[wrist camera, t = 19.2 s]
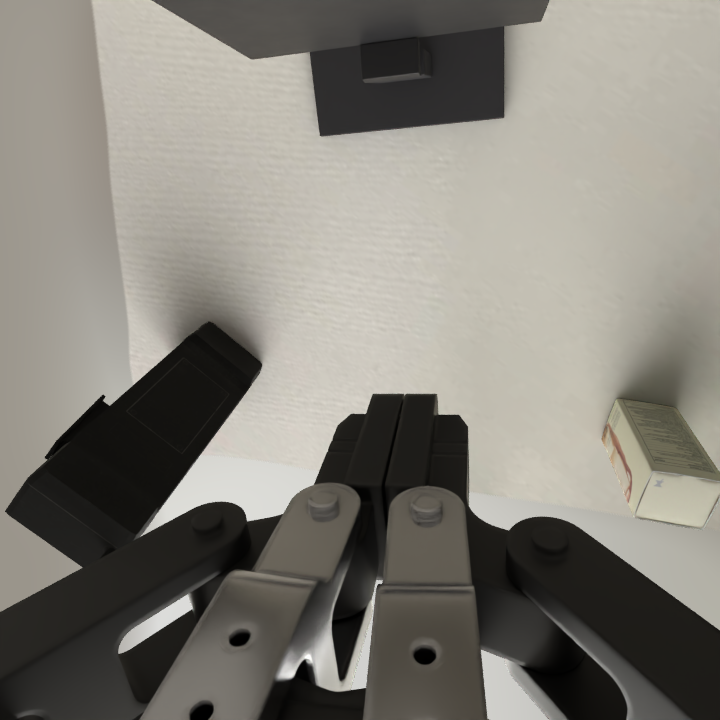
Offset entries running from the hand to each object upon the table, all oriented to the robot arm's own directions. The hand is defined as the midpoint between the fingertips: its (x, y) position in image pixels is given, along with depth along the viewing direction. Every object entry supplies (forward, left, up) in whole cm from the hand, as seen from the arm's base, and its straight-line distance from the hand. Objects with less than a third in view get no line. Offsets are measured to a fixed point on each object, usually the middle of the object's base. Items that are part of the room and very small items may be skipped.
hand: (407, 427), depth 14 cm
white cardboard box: (-11, +22, -33) cm, 41 cm away
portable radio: (+24, +9, -33) cm, 42 cm away
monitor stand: (+1, -11, -33) cm, 35 cm away
